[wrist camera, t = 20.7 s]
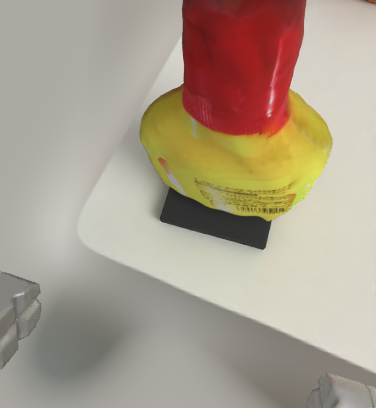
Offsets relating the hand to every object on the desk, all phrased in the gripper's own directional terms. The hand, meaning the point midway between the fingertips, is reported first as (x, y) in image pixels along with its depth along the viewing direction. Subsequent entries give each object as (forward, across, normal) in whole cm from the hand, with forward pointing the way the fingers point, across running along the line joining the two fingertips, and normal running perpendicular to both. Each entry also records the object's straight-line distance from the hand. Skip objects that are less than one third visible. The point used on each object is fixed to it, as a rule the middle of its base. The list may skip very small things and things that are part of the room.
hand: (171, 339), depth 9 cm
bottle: (+20, 0, +4) cm, 21 cm away
